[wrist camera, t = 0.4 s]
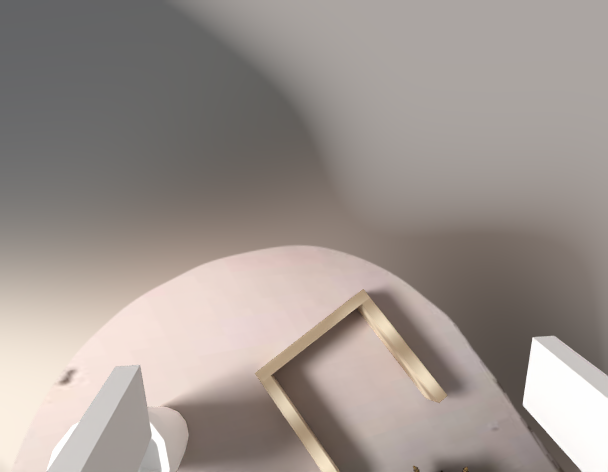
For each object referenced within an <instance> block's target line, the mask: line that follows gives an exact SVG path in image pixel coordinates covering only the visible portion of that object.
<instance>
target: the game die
mask: <svg viewBox="0 0 608 472" xmlns="http://www.w3.org/2000/svg"><path fill="white" fill-rule="evenodd" d="M413 468H414V472H419V469H418V467H415V466H413ZM441 472H443V471H441ZM462 472H468V467H465V468H463V470H462Z"/></svg>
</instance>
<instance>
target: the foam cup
mask: <svg viewBox="0 0 608 472" xmlns="http://www.w3.org/2000/svg"><path fill="white" fill-rule="evenodd" d="M147 409H148V415H149V420H150V426H151V432H152V437H151V439H150V442H149V444H148V447H147V449H146V452H145V455H144V457H143V460H142V462H141V465H140V467H139V470H138V472H177V469H178V467H179V465H180V462H181V460H182V458H183V455H184V453H185V450H186V447H187V442H188V438H189V433H188V428H187V423H186V421H185V420H184V418H183V417H182V416H181V414H180V413H179V412H178V411H176V410H173V409H171V408H169V407H147ZM78 423H79V422H78ZM78 423H77V424H75V425H73V426H72V427H71V428H70V429H69V431H68V432H67V433H66V435H65V436H64V437H63V438H62V440H61V441H60V442H59V443H58V445H57V446H56V447H55V449H54V450H53V452H52V455H51V458H50V462H49V465H48V468H47V470H48V469H49V467H50V466H51V464H52V463H53V461H54V460H55V458H56V457H57V455H58V454H59V452H60V451H61V449H62V447H63V446H64V444H65V443H66V441H67V440H68V438H69V437H70V435H71V434H72V432H73V431H74V429H75V428H76V426H77V425H78Z"/></svg>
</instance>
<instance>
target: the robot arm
mask: <svg viewBox="0 0 608 472" xmlns="http://www.w3.org/2000/svg"><path fill="white" fill-rule="evenodd" d="M523 406H524V407H525V408H526V409H527V410H528V411H529V413H530V414H531V415H532V416H533V417H534V418H535V419H536V421H537V422H538V423H539V424H540V425H541V426H542V427H543V428H544V429H545V430H546V431H547V433H548V434H549V435H550V436H551V437H552V438H553V440H554V441H555V442H556V443H557V444H558V445H559V446H560V447H561V448H562V450H563V451H564V452H565V453H566V454H567V455H568V456H569V457H570V459H571V460H572V461H573V462H574V463H575V464H576V465H577V466H578V468H579V469H580V470H581V471H582V472H608V376H607V375H606V374H604V373H603V372H602V371H600V370H599V369H598V368H596V367H595V366H594V365H592V364H591V363H590V362H588V361H587V360H586V359H584V358H583V357H582V356H580V355H579V354H578V353H576V352H575V351H574V350H572V349H571V348H570V347H568V346H567V345H566V344H564V343H563V342H562V341H560V340H559V339H558V338H556V337H555V336H545V337H533V339H532V346H531V353H530V359H529V366H528V373H527V379H526V386H525V393H524V399H523ZM151 437H152V432H151V426H150V420H149V415H148V409H147V403H146V397H145V391H144V385H143V379H142V373H141V368H140V365H132V366H117V367H115V368H114V370H113V371H112V373H111V374H110V376H109V377H108V379H107V380H106V382H105V383H104V385H103V386H102V388H101V389H100V391H99V393H98V394H97V396H96V397H95V399H94V400H93V402H92V403H91V405H90V406H89V408H88V409H87V411H86V412H85V414H84V415H83V417H82V418H81V420H80V422H79V423H78V425H77V426H76V428H75V429H74V431H73V432H72V434H71V435H70V437H69V438H68V440H67V441H66V443H65V444H64V446H63V447H62V449H61V451H60V452H59V454H58V455H57V457H56V458H55V460H54V461H53V463H52V464H51V466H50V467H49V469H48V470H47V472H138V470H139V467H140V465H141V462H142V460H143V457H144V455H145V452H146V449H147V447H148V444H149V442H150V439H151Z"/></svg>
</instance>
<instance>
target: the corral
mask: <svg viewBox="0 0 608 472" xmlns="http://www.w3.org/2000/svg"><path fill="white" fill-rule="evenodd" d="M356 308H357V310H358V311H359V312H360V314H361V315H362V316H363V318H364V319H365V320H366V321H367V323H368V324H369V325H370V327H371V328H372V329H373V330H374V332H375V333H376V334H377V336H378V337H379V338H380V339H381V341H382V342H383V343H384V345H385V346H386V347H387V349H388V350H389V351H390V352H391V354H392V355H393V356H394V358H395V359H396V360H397V361H398V363H399V364H400V365H401V367H402V368H403V369H404V370H405V372H406V373H407V374H408V376H409V377H410V378H411V379H412V381H413V382H414V383H415V385H416V386H417V387H418V389H419V390H420V391H421V392H422V394H423V395H424V396H425V398H426V399H429V400H432V401H435V402H438V403H440V402H441V401H442V400H443V399H444V398H445V397H447V394H446V393H445V392H444V391H443V389H442V388H441V387H440V386H439V384H438V383H437V382H436V381H435V379H434V378H433V377H432V375H431V374H430V373H429V372H428V370H427V369H426V368H425V367H424V365H423V364H422V363H421V362H420V360H419V359H418V358H417V356H416V355H415V354H414V353H413V351H412V350H411V349H410V348H409V346H408V345H407V344H406V342H405V341H404V340H403V339H402V337H401V336H400V335H399V334H398V332H397V331H396V330H395V329H394V327H393V326H392V325H391V323H390V322H389V321H388V320H387V318H386V317H385V316H384V315H383V313H382V312H381V311H380V310H379V308H378V307H377V306H376V304H375V303H374V302H373V301H372V299H371V298H370V297H369V296H368V294H367V293H366V292H365V290H364V289H363V290H361V291H360V292H359V293H357V294H356V295H355V296H354V297H352V298H351V299H350V300H348V301H347V302H346V303H345V304H343V305H342V306H341V307H339V308H338V309H337V310H336V311H334V312H333V313H332V314H330V315H329V316H328V317H327V318H325V319H324V320H323V321H321V322H320V323H319V324H318V325H316V326H315V327H314V328H312V329H311V330H310V331H309V332H307V333H306V334H305V335H303V336H302V337H301V338H299V339H298V340H297V341H296V342H294V343H293V344H292V345H290V346H289V347H288V348H287V349H285V350H284V351H283V352H281V353H280V354H279V355H278V356H276V357H275V358H274V359H272V360H271V361H270V362H269V363H267V364H266V365H265V366H263V367H262V368H261V369H260V370H258V371H257V372H256V373H255V374H256V376H257V377H258V379H259V380H260V382H261V383H262V385H263V386H264V388H265V389H266V390H267V392H268V393H269V395H270V396H271V398H272V399H273V401H274V402H275V404H276V405H277V407H278V408H279V409H280V411H281V412H282V414H283V415H284V417H285V418H286V420H287V421H288V423H289V424H290V426H291V427H292V429H293V430H294V431H295V433H296V434H297V436H298V437H299V439H300V440H301V442H302V443H303V445H304V446H305V448H306V449H307V450H308V452H309V453H310V455H311V456H312V458H313V459H314V461H315V462H316V464H317V465H318V467H319V468H320V470H321V471H322V472H340V471H339V469H338V468H337V466H336V465H335V464H334V462H333V461H332V459H331V458H330V456H329V455H328V453H327V452H326V451H325V449H324V448H323V446H322V445H321V443H320V442H319V440H318V439H317V438H316V436H315V435H314V433H313V432H312V430H311V429H310V427H309V426H308V425H307V423H306V422H305V420H304V419H303V417H302V416H301V414H300V413H299V412H298V410H297V409H296V407H295V406H294V404H293V403H292V402H291V400H290V399H289V397H288V396H287V394H286V393H285V391H284V390H283V389H282V387H281V386H280V384H279V383H278V381H277V380H276V378H275V377H274V376H273V373H275V372H276V371H277V370H278V369H280V368H281V367H282V366H284V365H285V364H286V363H287V362H289V361H290V360H291V359H292V358H294V357H295V356H296V355H297V354H299V353H300V352H301V351H303V350H304V349H305V348H306V347H308V346H309V345H310V344H311V343H313V342H314V341H315V340H317V339H318V338H319V337H320V336H322V335H323V334H324V333H325V332H327V331H328V330H329V329H331V328H332V327H333V326H334V325H336V324H337V323H338V322H339V321H341V320H342V319H343V318H345V317H346V316H347V315H348V314H350V313H351V312H352V311H353V310H355V309H356Z"/></svg>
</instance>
